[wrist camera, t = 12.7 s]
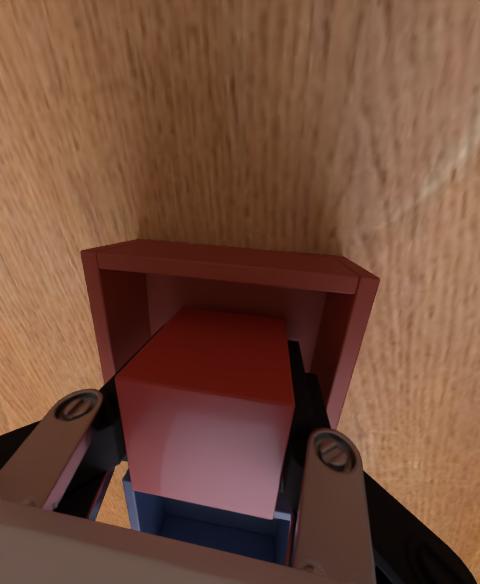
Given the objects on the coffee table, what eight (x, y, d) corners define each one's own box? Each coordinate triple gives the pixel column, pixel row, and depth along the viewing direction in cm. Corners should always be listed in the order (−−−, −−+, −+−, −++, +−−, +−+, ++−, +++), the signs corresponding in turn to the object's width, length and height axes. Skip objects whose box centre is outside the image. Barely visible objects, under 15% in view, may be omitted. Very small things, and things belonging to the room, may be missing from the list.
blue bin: (301, 446, 14) (310, 518, 11) (281, 533, 17) (284, 608, 14) (154, 421, 15) (121, 479, 12) (162, 508, 18) (138, 573, 15)
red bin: (344, 256, 10) (381, 278, 7) (307, 419, 13) (319, 487, 10) (137, 238, 11) (78, 250, 8) (151, 394, 14) (115, 449, 11)
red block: (285, 318, 10) (295, 405, 5) (272, 401, 11) (273, 520, 7) (181, 306, 10) (113, 377, 6) (183, 387, 12) (131, 491, 7)
